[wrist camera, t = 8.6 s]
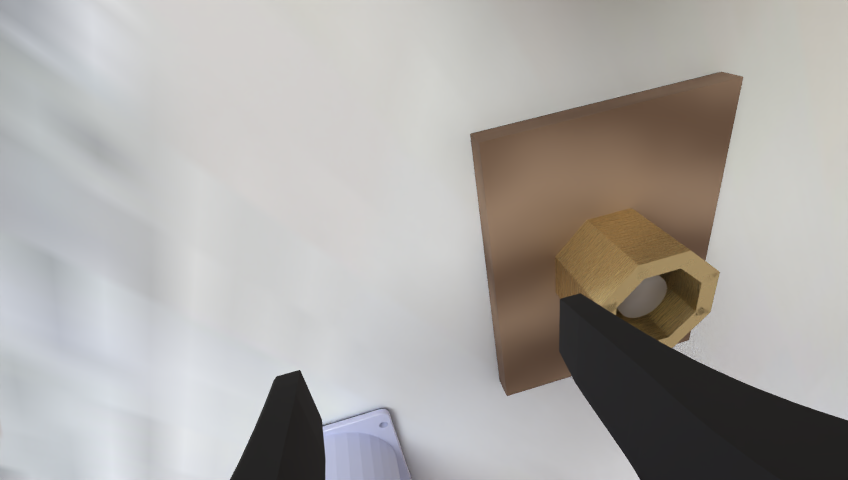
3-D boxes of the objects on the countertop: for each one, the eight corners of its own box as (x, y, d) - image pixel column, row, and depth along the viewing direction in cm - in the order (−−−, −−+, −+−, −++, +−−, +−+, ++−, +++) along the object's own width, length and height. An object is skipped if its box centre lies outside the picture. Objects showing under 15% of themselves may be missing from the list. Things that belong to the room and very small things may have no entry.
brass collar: (650, 288, 25) (704, 337, 21) (555, 316, 24) (595, 370, 21) (662, 199, 22) (727, 240, 18) (554, 228, 21) (601, 276, 18)
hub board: (675, 327, 29) (726, 376, 25) (499, 380, 28) (527, 439, 24) (721, 71, 20) (808, 91, 17) (470, 133, 19) (506, 169, 16)
